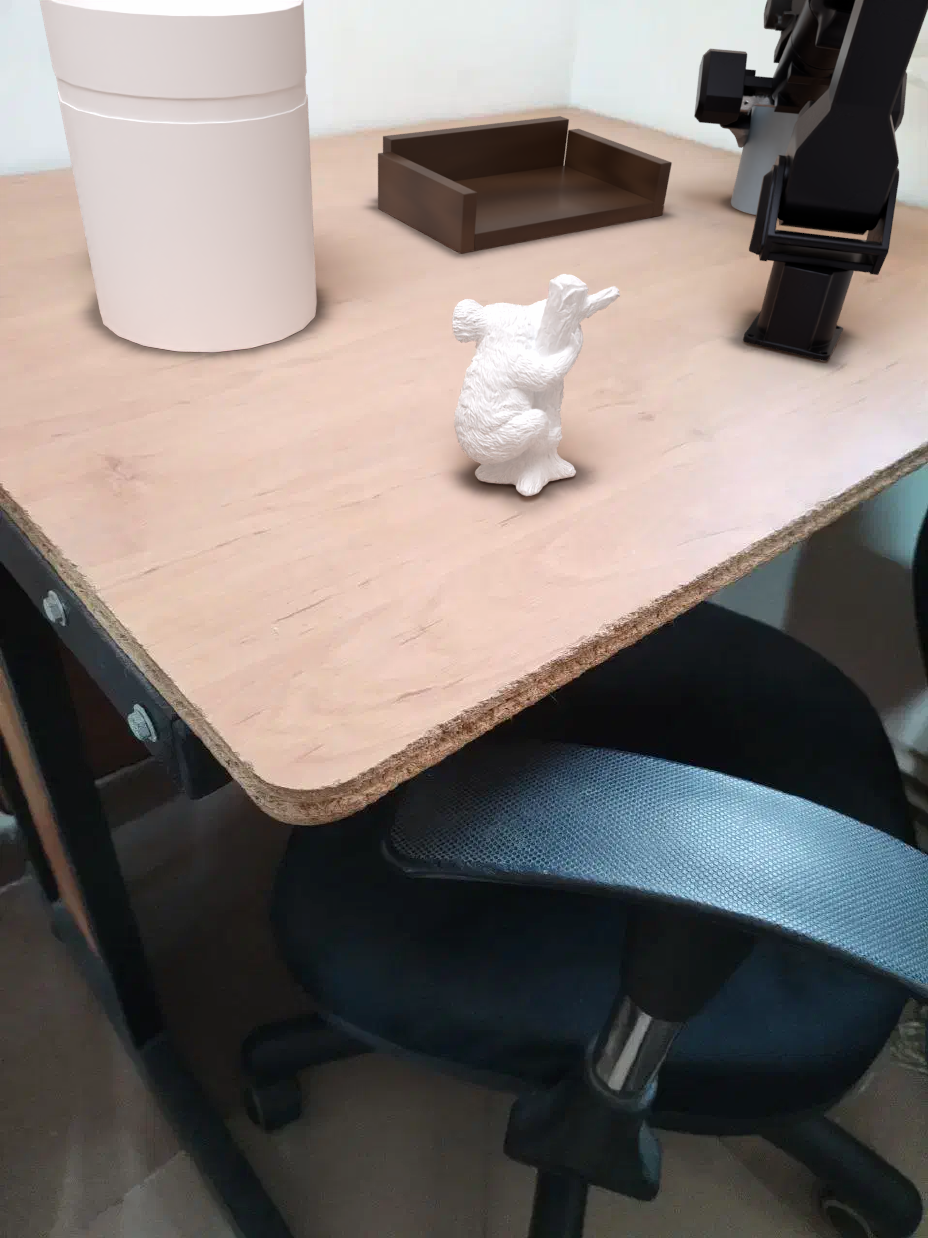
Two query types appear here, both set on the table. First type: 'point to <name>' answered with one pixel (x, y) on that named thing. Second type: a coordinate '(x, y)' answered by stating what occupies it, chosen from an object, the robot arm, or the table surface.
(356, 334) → the table surface
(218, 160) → the canister
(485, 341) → the koala figurine
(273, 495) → the table surface
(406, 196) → the tray
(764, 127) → the pale blue cylinder
